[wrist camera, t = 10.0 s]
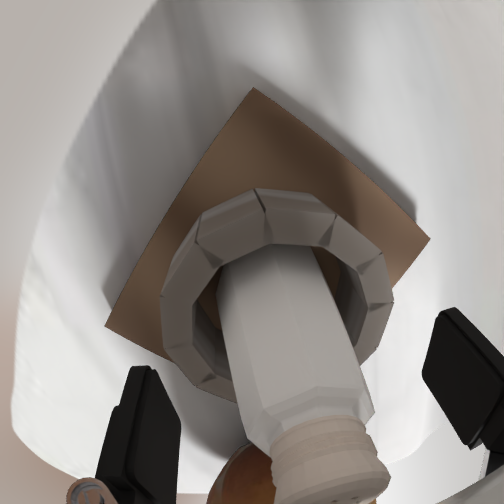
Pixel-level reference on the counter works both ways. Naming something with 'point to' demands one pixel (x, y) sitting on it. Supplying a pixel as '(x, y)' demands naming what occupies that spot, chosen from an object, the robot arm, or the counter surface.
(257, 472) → the butternut squash
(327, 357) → the pepper shaker
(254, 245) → the shaft housing
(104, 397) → the counter surface
